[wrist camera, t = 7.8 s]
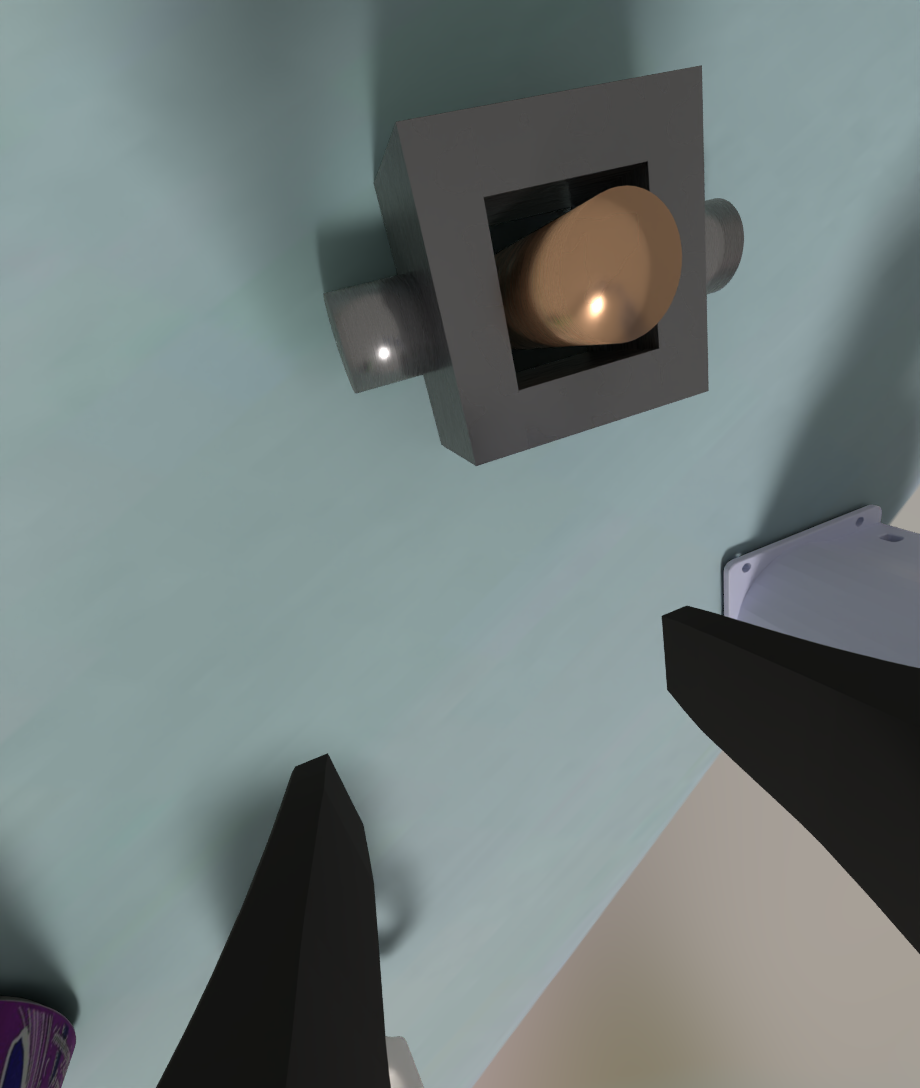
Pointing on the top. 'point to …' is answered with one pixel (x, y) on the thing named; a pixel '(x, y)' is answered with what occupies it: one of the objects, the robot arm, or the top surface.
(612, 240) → the tapered valve plug
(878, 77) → the top surface
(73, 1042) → the beverage can
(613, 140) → the valve body
